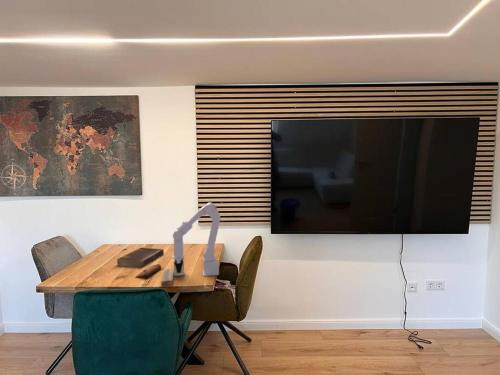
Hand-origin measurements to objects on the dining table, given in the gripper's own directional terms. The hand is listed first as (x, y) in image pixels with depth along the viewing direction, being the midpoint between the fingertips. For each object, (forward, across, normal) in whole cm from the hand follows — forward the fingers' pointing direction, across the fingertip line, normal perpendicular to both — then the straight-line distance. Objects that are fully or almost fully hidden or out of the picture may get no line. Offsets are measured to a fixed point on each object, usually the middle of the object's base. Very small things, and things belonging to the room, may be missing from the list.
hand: (179, 270), depth 188 cm
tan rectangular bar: (+2, +5, -6) cm, 9 cm away
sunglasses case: (+3, -6, -19) cm, 20 cm away
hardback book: (+3, -36, -27) cm, 44 cm away
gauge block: (+2, 0, 0) cm, 2 cm away
